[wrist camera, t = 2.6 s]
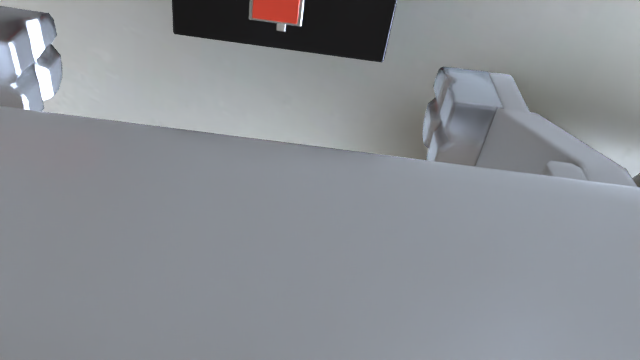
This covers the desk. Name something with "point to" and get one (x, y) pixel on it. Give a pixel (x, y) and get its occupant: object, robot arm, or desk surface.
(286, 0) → the knob
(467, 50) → the desk surface
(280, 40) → the hob panel
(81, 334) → the robot arm
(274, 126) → the desk surface
